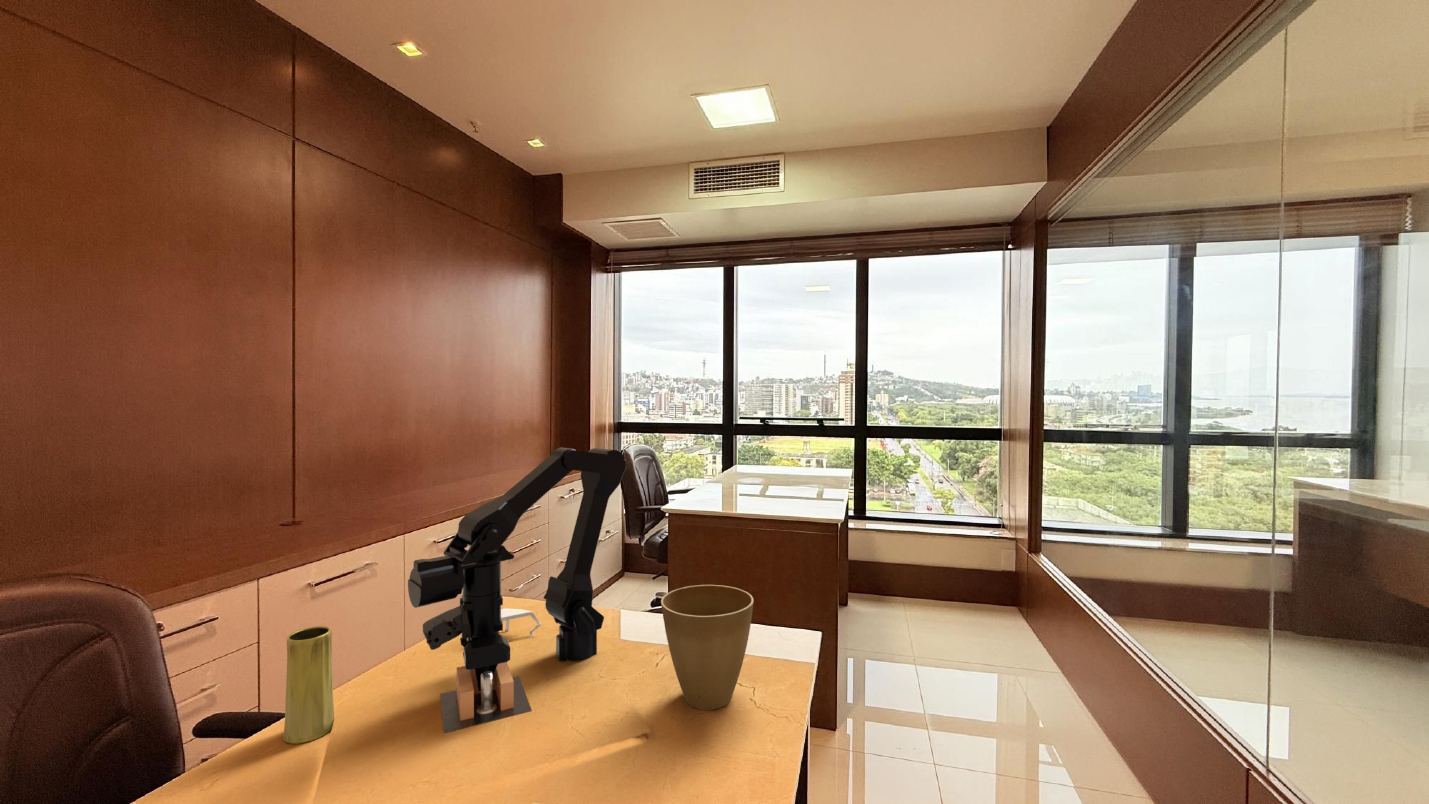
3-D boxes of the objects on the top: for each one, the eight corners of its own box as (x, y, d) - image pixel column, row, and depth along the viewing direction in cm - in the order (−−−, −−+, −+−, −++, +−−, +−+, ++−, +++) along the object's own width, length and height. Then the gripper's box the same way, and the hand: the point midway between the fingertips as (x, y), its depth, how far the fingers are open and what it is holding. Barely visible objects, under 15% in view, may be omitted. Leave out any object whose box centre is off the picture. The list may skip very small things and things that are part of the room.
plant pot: (766, 685, 93) (766, 590, 93) (731, 734, 80) (731, 622, 80) (687, 667, 99) (687, 578, 99) (643, 709, 86) (643, 606, 86)
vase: (307, 747, 76) (307, 644, 76) (271, 741, 78) (271, 640, 78) (345, 722, 82) (345, 626, 82) (310, 717, 84) (311, 623, 84)
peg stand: (518, 681, 94) (518, 643, 94) (531, 717, 84) (531, 674, 84) (440, 699, 89) (440, 659, 89) (443, 740, 78) (443, 694, 78)
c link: (505, 681, 92) (505, 657, 92) (513, 707, 85) (513, 681, 85) (456, 692, 89) (456, 667, 89) (460, 720, 81) (460, 693, 81)
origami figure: (475, 649, 107) (475, 624, 107) (481, 632, 115) (481, 608, 115) (540, 642, 110) (540, 617, 110) (541, 625, 118) (541, 602, 118)
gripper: (425, 582, 94) (425, 673, 94) (427, 620, 78) (427, 731, 78) (495, 572, 99) (495, 659, 99) (510, 606, 83) (510, 710, 83)
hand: (482, 687), depth 90 cm, fingers closed on c link, 2 cm apart
